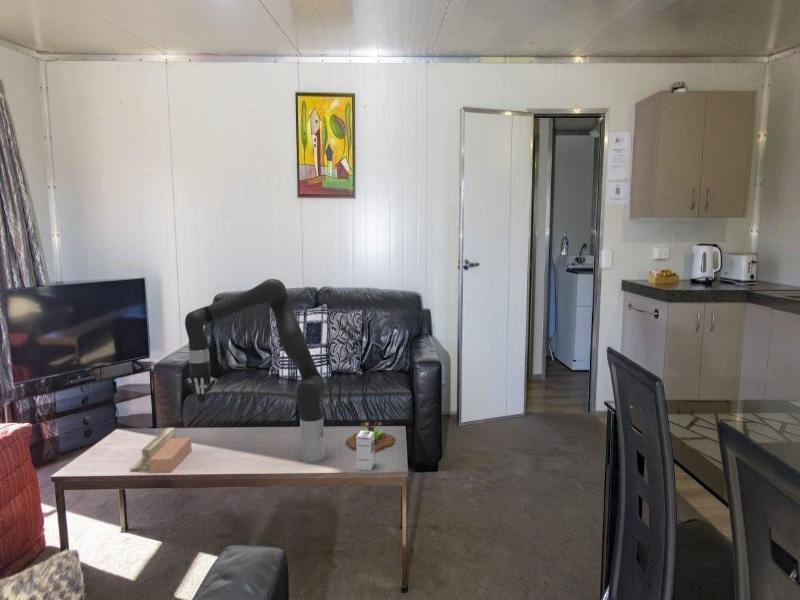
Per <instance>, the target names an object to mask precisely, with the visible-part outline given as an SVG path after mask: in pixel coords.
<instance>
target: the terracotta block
mask: <svg viewBox="0 0 800 600" xmlns="http://www.w3.org/2000/svg"><path fill="white" fill-rule="evenodd" d="M191 452H192V438H191V437H184V438H183V437H181V438H180V437H179V438H178V437H177V438H171V439H170V440H169V441H168V442H167V443H166V444H165V445H164V446H163V447H162V448H161V449H160V450H159V451H158V452H157V453H156V454H154V455H153V456H152V457H151V458H150V459H149V462H150V472H149V473H150V474H157V473H159V474H160V473H161V474H163V473H164V474H165V473H172V472H174V471H175V469H177V467H179V465H180V464H181V463H182V462H184V460H185V459H186V458H187V456H189V455H190V454H191Z"/></svg>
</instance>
